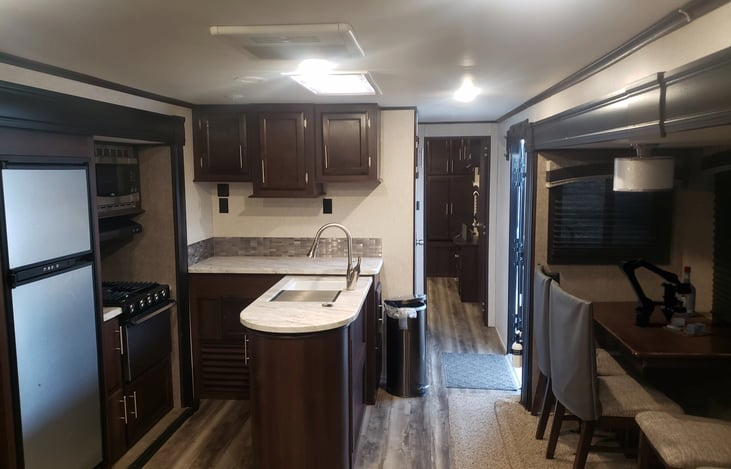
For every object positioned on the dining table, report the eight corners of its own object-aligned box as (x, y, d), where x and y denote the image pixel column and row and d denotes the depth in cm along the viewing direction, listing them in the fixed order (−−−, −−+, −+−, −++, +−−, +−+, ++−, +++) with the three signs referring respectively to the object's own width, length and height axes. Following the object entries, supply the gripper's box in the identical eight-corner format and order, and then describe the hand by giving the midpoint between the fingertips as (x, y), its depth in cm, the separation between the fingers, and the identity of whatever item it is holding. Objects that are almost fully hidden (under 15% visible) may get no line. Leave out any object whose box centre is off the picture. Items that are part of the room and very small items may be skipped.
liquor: (678, 312, 329) (681, 265, 326) (695, 315, 322) (698, 266, 319) (674, 315, 322) (676, 266, 319) (691, 318, 316) (694, 268, 313)
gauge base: (687, 337, 278) (688, 326, 278) (662, 328, 294) (663, 319, 293) (708, 334, 282) (708, 324, 282) (682, 326, 298) (682, 317, 297)
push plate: (670, 327, 290) (671, 320, 290) (666, 326, 293) (666, 318, 293) (684, 325, 293) (684, 318, 292) (679, 324, 296) (680, 317, 295)
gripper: (695, 296, 291) (693, 324, 293) (667, 290, 309) (665, 316, 311) (679, 298, 288) (678, 326, 290) (651, 291, 306) (650, 317, 307)
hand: (668, 321), depth 299 cm, fingers closed
